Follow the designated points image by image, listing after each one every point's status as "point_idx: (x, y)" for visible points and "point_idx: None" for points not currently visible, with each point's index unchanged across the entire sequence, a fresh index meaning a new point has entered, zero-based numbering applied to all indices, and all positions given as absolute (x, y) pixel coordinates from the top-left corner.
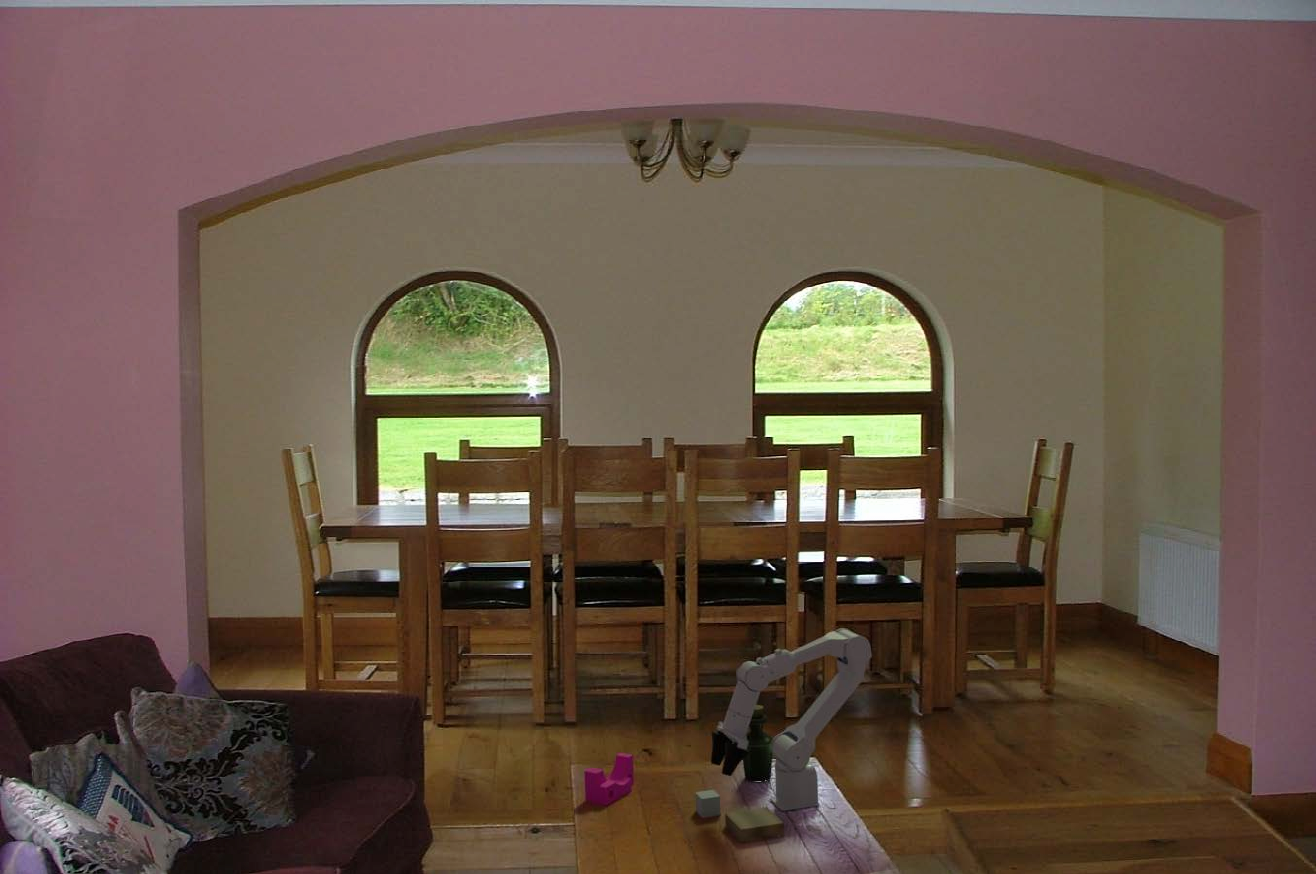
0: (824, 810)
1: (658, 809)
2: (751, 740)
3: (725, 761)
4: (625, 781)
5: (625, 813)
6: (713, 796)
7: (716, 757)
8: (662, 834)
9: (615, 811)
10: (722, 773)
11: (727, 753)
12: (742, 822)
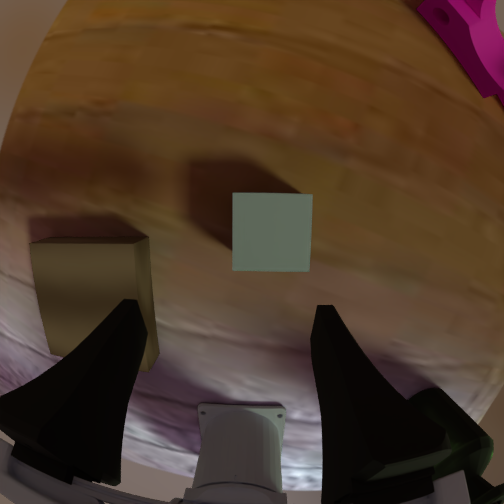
0: (183, 457)
1: (356, 94)
2: (451, 469)
3: (82, 343)
4: (496, 75)
5: (353, 15)
6: (240, 246)
7: (321, 349)
8: (166, 54)
9: (373, 4)
10: (129, 299)
11: (40, 378)
12: (62, 265)
